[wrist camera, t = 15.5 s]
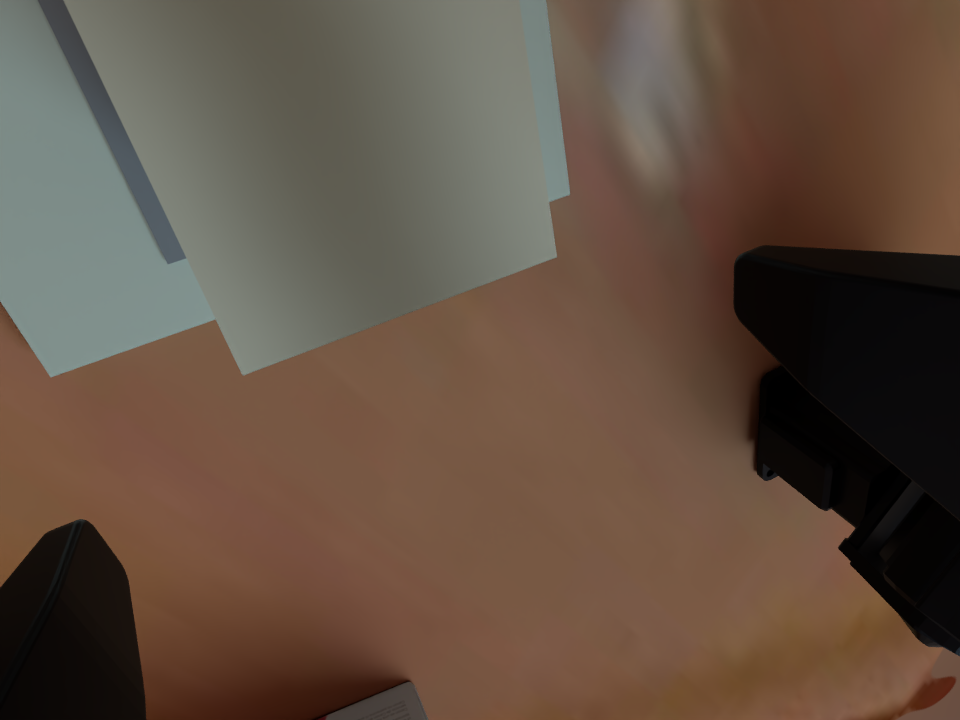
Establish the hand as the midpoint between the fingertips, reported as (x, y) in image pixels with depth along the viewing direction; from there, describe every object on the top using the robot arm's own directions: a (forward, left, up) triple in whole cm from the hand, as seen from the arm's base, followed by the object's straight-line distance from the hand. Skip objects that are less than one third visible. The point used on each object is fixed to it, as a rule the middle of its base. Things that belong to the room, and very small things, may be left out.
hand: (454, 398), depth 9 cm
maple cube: (0, -3, -7) cm, 7 cm away
